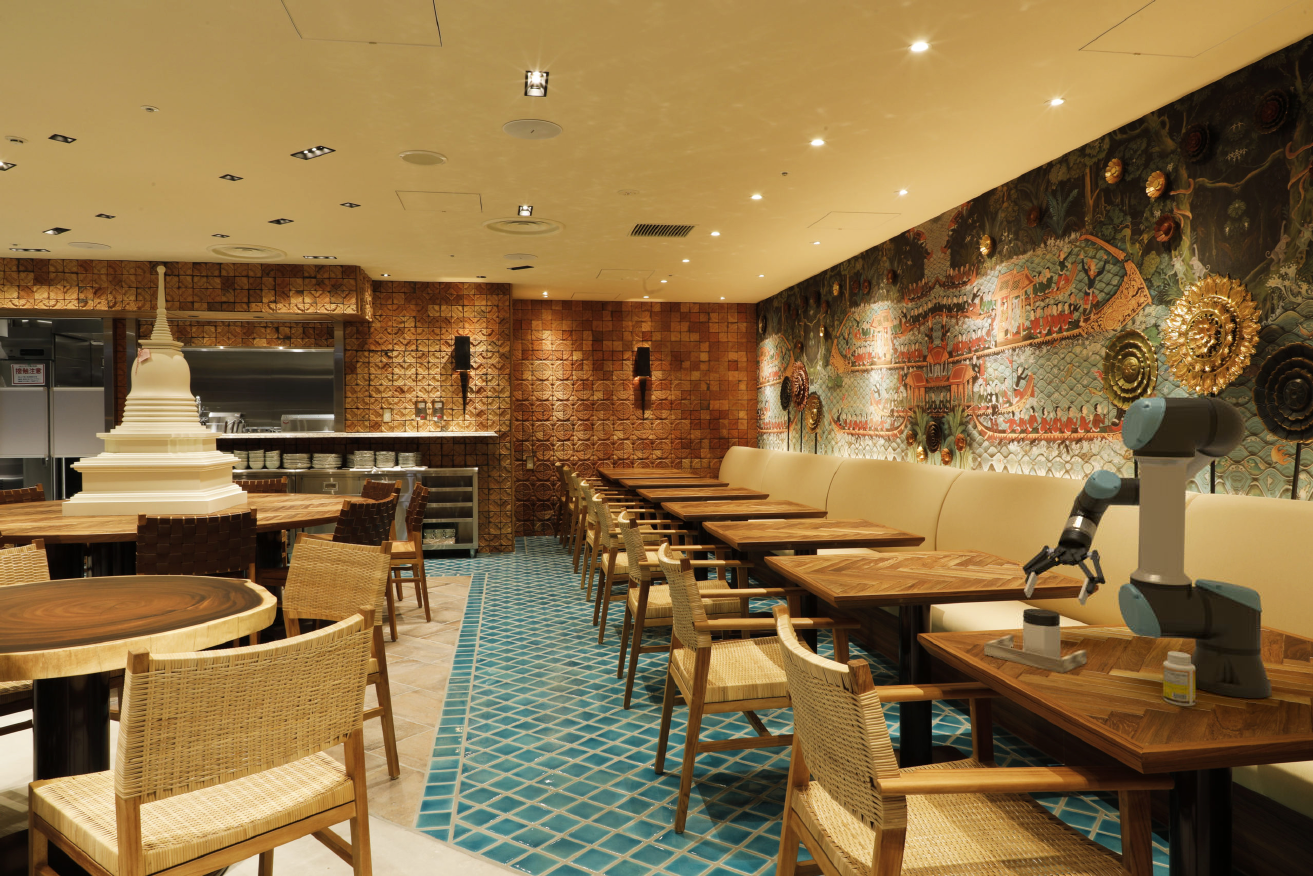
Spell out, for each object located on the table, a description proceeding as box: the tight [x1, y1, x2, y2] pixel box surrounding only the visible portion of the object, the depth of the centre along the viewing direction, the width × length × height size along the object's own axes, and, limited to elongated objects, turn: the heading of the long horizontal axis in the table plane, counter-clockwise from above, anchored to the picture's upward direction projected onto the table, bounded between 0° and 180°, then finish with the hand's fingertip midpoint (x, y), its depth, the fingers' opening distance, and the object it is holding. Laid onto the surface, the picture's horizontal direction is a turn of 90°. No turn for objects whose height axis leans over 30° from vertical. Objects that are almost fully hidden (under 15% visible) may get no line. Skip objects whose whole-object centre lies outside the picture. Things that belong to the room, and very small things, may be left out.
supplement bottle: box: [1162, 650, 1197, 707], centre depth 156 cm, size 6×6×10 cm
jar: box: [1022, 608, 1061, 659], centre depth 186 cm, size 9×8×12 cm
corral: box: [983, 634, 1087, 674], centre depth 187 cm, size 14×19×3 cm
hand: (1053, 598), depth 194 cm, fingers open, 13 cm apart
